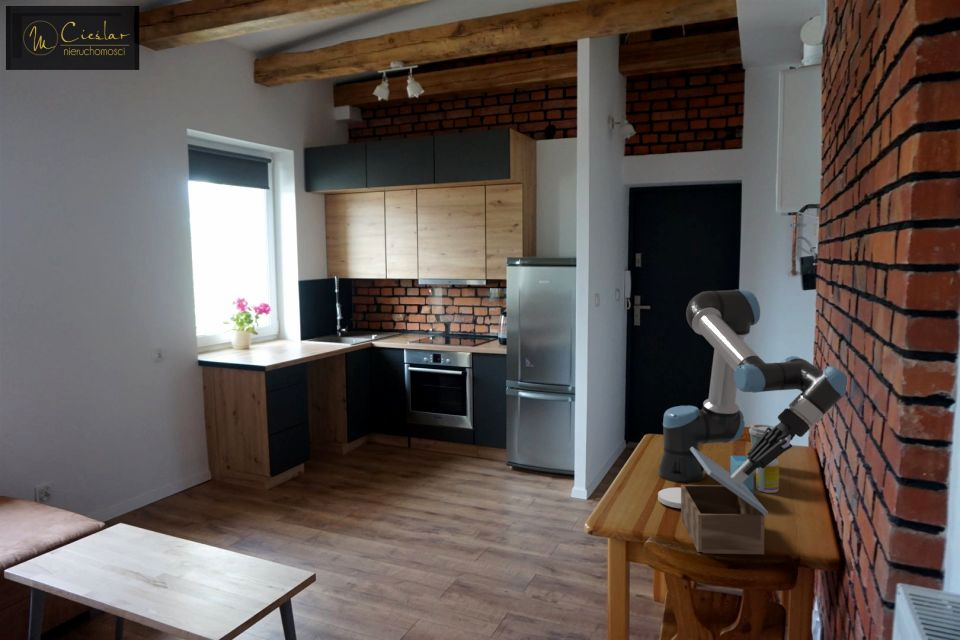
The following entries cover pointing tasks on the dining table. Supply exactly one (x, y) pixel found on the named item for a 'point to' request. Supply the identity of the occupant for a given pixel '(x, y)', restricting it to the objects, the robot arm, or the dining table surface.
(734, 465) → the data package
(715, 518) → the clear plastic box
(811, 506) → the dining table surface
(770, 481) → the supplement bottle
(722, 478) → the lid
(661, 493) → the plastic lid
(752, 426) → the disposable coffee cup
